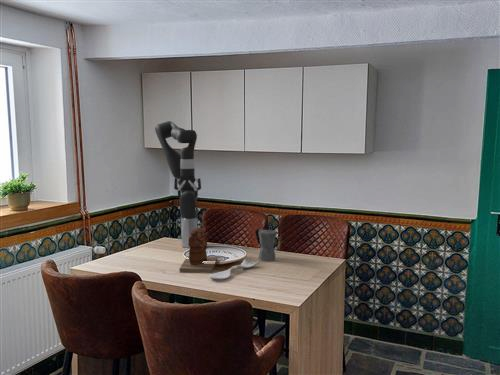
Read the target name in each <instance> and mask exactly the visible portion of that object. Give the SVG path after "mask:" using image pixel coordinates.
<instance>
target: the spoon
mask: <svg viewBox="0 0 500 375" xmlns="http://www.w3.org/2000/svg"><path fill="white" fill-rule="evenodd" d="M259 263H260V260H259V261H256V262H255V261H250V260H249V259H247V258H245V259H243V261H242V262H241V263H240V264H237V265H233V266H231V267H229V268H227V269H226V270H223V271H218V272H215V273H211V274H209V275H208V277H209V278H210V279H212V280H219V281H220V280H226V279H227V278H229V277H231V275H232V274H231V273H232V270H236V269H237V268H242V269H249V268H252V267H254V266H257V265H258V264H259Z"/></svg>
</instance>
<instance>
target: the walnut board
mask: <svg viewBox="0 0 500 375" xmlns="http://www.w3.org/2000/svg"><path fill="white" fill-rule="evenodd" d="M187 257H188V258H189V255H188V256H186V258H187ZM186 258H185V259H184V261H183V262H182V264H181V265H180V267H179V273H193V274H194V273H196V274H199V273H200V274H201V273H203V274H204V273H205V274H209V273H211V274H213V271H214V268H215V266H216V264H215V265H214V264H204V263H203V264H198V265H191V264H190V260H189V259H186ZM216 260H217V261H218V256H212V255H211V256H210V255H209V256H208V255H207V260H205V261H216Z"/></svg>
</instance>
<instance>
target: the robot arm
mask: <svg viewBox="0 0 500 375" xmlns="http://www.w3.org/2000/svg"><path fill="white" fill-rule="evenodd" d="M154 132H155V134H156V137H157V139H158V141H159V144H160V145H161V148H162V150H163V152H164V155H165V160H166V162H167V165H168V167H169V171H170V172H171V175H172V176H173V178H174V183H173V184H174V185H173V186H174V187H173V188H174V190H176V191H177V197H178V198H179V213H180V220H181V221H180V223H181V225H180V226H181V228H180V229H181V233H180V235H181V247H182V248H189V249H190V247H189V245H188V242H189V241H188V240H189V237H190V235H191V232H192V230H193V229H194V228H198V218H197V217H198V213H197V211H196V210H197V209H196V203H197V201H198V196H199V194H198V193H199V191H201V189H202V180H201V178H200V177H198V178H196V177H195V174H196V173H195V171H196V170H195V167H196V166H195V155H194V154H195V148H196V142H197V138H198V135H197V132H196V130H193V129H185V128H182V127H180V126H178V125H176V123H174V122H173V121H165V122H161V123H158V124H155V126H154ZM169 138H172V139H174V140H175V141H177V143H178V144H188V145H187V146H186V147H182V148H181V149H180V153H179V152H178V151H176V150H175V149H174V148H173V147H172V146H171V145H170V144H169V143H168V141H167V139H169ZM195 182H196V183H197V185H198V186H197V185H196V184H195Z"/></svg>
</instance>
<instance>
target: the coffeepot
mask: <svg viewBox="0 0 500 375" xmlns="http://www.w3.org/2000/svg"><path fill="white" fill-rule="evenodd" d="M269 228H270V227H269V226H265V229H260V228H257V229H256V230H255V232H254V233H255V237H256V241H257V244H259V245H260V248H259V253H258V260H259V261H261V262H274V261H275V260H276V258H277V257H276V253H275V252H276V251H275V247H274V245H275V241H276V236H278V235H277V231H275V230H272V229H269Z"/></svg>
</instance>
